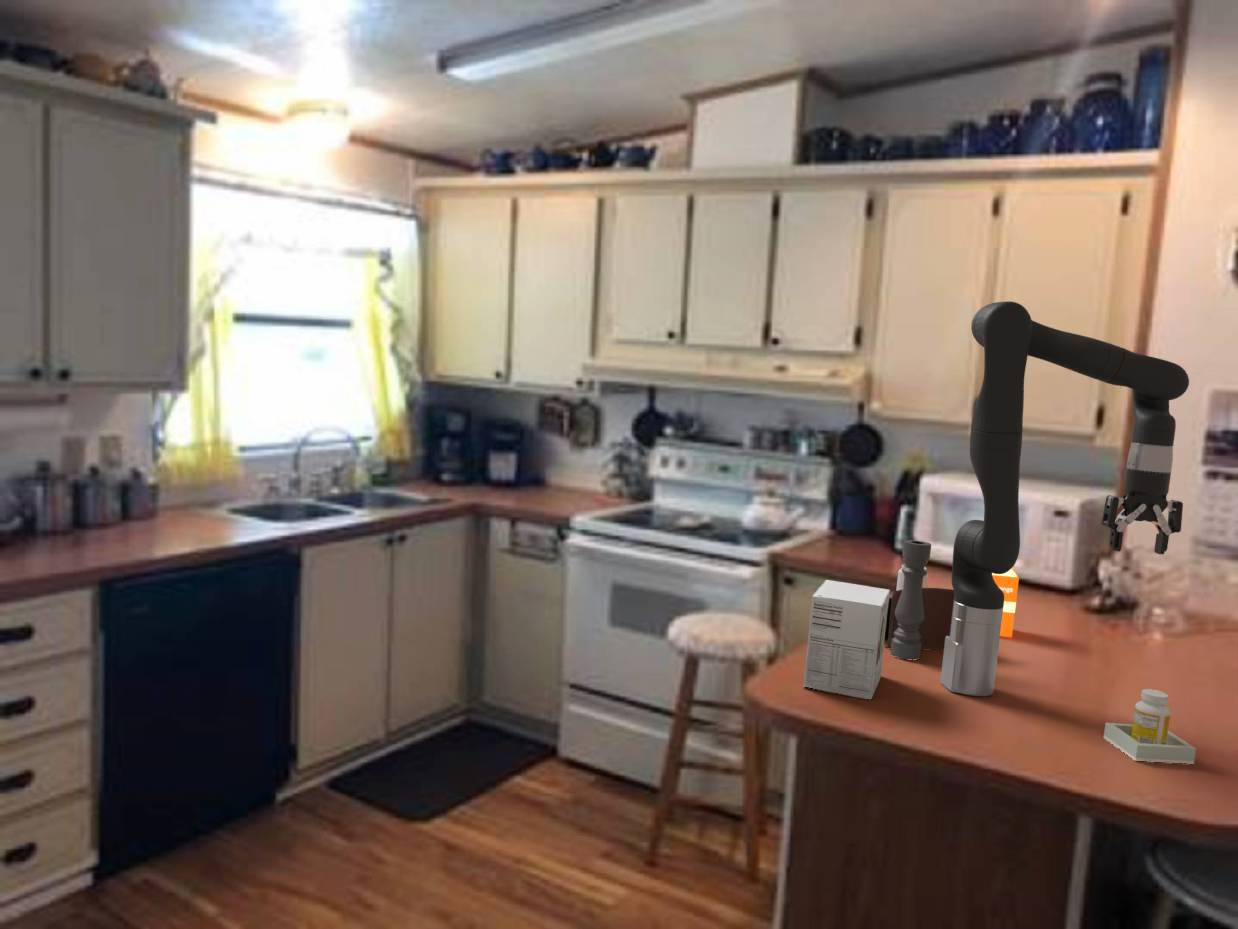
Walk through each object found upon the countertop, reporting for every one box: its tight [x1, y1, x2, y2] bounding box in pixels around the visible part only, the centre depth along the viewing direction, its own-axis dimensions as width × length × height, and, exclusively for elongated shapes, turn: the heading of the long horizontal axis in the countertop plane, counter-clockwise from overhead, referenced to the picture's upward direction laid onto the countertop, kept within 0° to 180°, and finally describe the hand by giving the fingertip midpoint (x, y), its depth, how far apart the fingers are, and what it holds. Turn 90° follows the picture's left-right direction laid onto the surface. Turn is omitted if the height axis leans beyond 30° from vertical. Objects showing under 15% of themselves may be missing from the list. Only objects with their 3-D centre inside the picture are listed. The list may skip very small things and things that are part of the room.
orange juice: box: [992, 566, 1020, 638], centre depth 244 cm, size 8×9×20 cm
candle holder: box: [889, 539, 932, 660], centre depth 216 cm, size 6×6×25 cm
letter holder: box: [884, 587, 954, 651], centre depth 228 cm, size 10×20×14 cm, turn 100°
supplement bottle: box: [1131, 688, 1171, 745], centre depth 171 cm, size 5×5×10 cm
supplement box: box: [803, 579, 891, 701], centre depth 196 cm, size 17×13×18 cm
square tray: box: [1103, 722, 1197, 765], centre depth 171 cm, size 10×10×3 cm
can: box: [896, 563, 930, 591], centre depth 257 cm, size 8×8×12 cm
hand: (1137, 552), depth 192 cm, fingers open, 8 cm apart
